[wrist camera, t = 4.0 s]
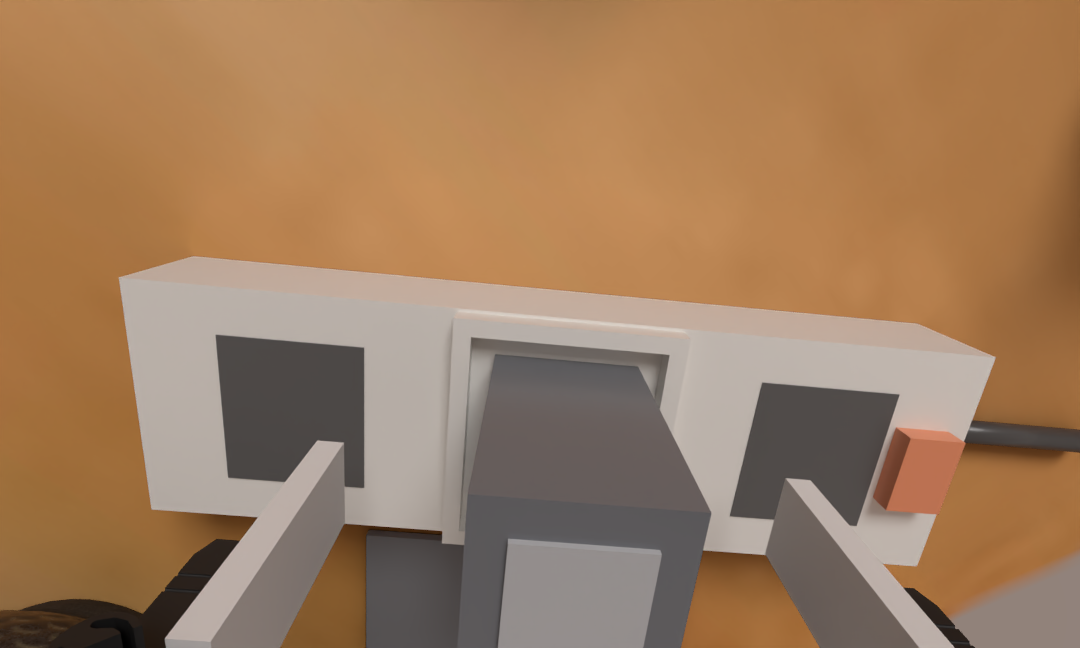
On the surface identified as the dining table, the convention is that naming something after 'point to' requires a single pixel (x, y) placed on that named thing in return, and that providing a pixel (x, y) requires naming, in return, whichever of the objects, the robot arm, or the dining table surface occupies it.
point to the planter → (49, 621)
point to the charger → (577, 513)
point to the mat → (412, 590)
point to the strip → (553, 333)
